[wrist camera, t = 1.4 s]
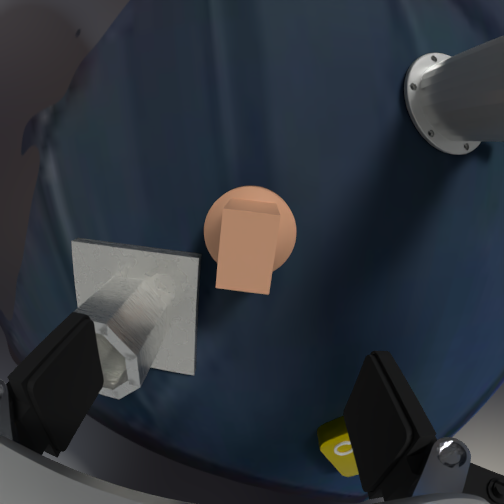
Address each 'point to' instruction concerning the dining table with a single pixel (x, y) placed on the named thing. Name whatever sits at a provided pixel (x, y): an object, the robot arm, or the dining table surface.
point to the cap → (249, 237)
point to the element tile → (337, 446)
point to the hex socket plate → (138, 309)
